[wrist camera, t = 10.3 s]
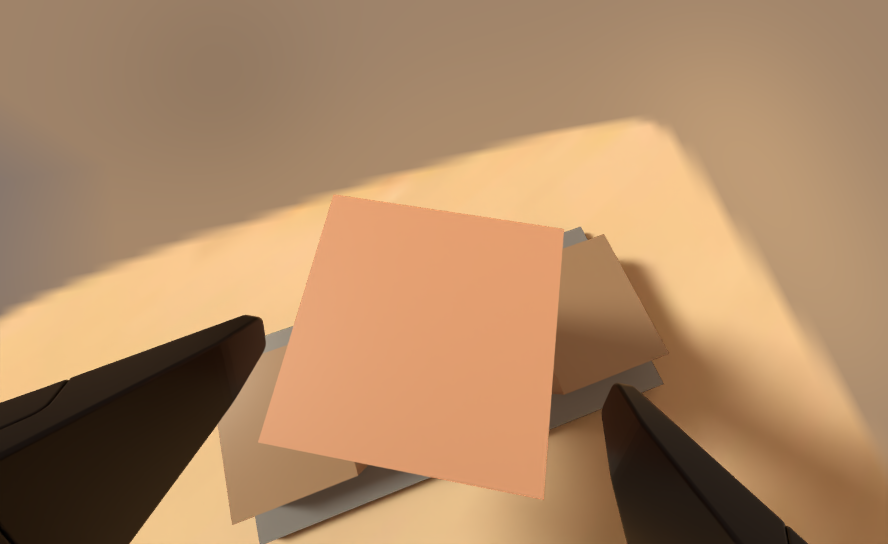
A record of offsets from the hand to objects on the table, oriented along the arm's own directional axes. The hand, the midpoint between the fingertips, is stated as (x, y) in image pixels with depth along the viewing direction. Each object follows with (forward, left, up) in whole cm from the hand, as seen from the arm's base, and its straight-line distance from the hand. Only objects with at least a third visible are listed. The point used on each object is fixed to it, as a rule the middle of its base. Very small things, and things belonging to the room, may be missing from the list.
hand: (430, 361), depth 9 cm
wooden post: (0, 0, -9) cm, 9 cm away
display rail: (0, 0, -10) cm, 10 cm away
